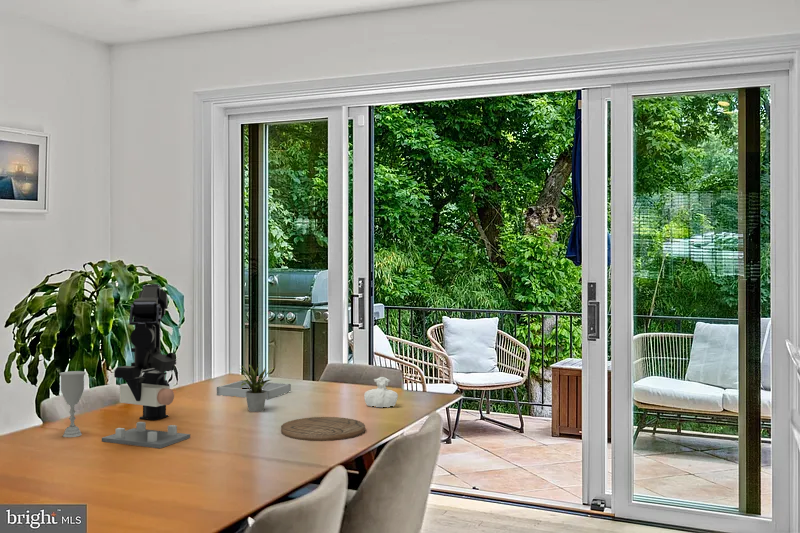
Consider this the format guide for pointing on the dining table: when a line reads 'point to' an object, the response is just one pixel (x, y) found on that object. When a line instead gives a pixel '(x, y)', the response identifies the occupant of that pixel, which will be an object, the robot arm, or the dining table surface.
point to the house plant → (255, 390)
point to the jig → (146, 436)
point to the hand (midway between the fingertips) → (144, 399)
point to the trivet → (322, 428)
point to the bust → (381, 394)
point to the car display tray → (236, 390)
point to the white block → (148, 395)
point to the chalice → (72, 396)
